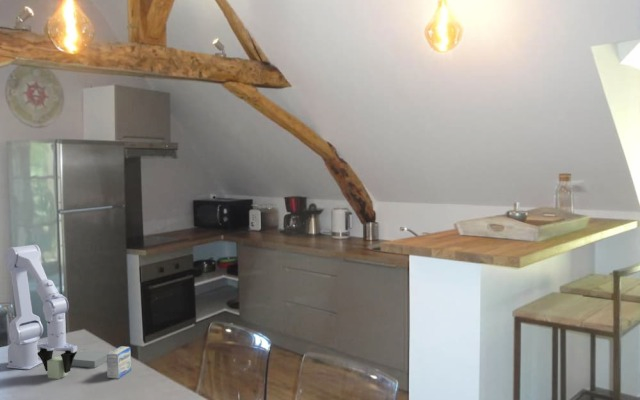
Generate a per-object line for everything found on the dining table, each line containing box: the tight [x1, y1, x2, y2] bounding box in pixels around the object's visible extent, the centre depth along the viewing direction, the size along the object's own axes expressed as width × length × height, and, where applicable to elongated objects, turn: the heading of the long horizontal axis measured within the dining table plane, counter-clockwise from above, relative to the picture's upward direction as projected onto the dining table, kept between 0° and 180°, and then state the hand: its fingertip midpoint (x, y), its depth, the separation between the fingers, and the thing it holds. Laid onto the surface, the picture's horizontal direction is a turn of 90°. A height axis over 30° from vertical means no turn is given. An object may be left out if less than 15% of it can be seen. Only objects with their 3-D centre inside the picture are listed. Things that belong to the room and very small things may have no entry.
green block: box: [47, 355, 69, 380], centre depth 181 cm, size 4×4×6 cm
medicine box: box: [106, 345, 132, 380], centre depth 182 cm, size 8×4×9 cm, turn 168°
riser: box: [71, 349, 111, 369], centre depth 194 cm, size 12×10×2 cm
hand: (57, 370), depth 181 cm, fingers open, 7 cm apart
